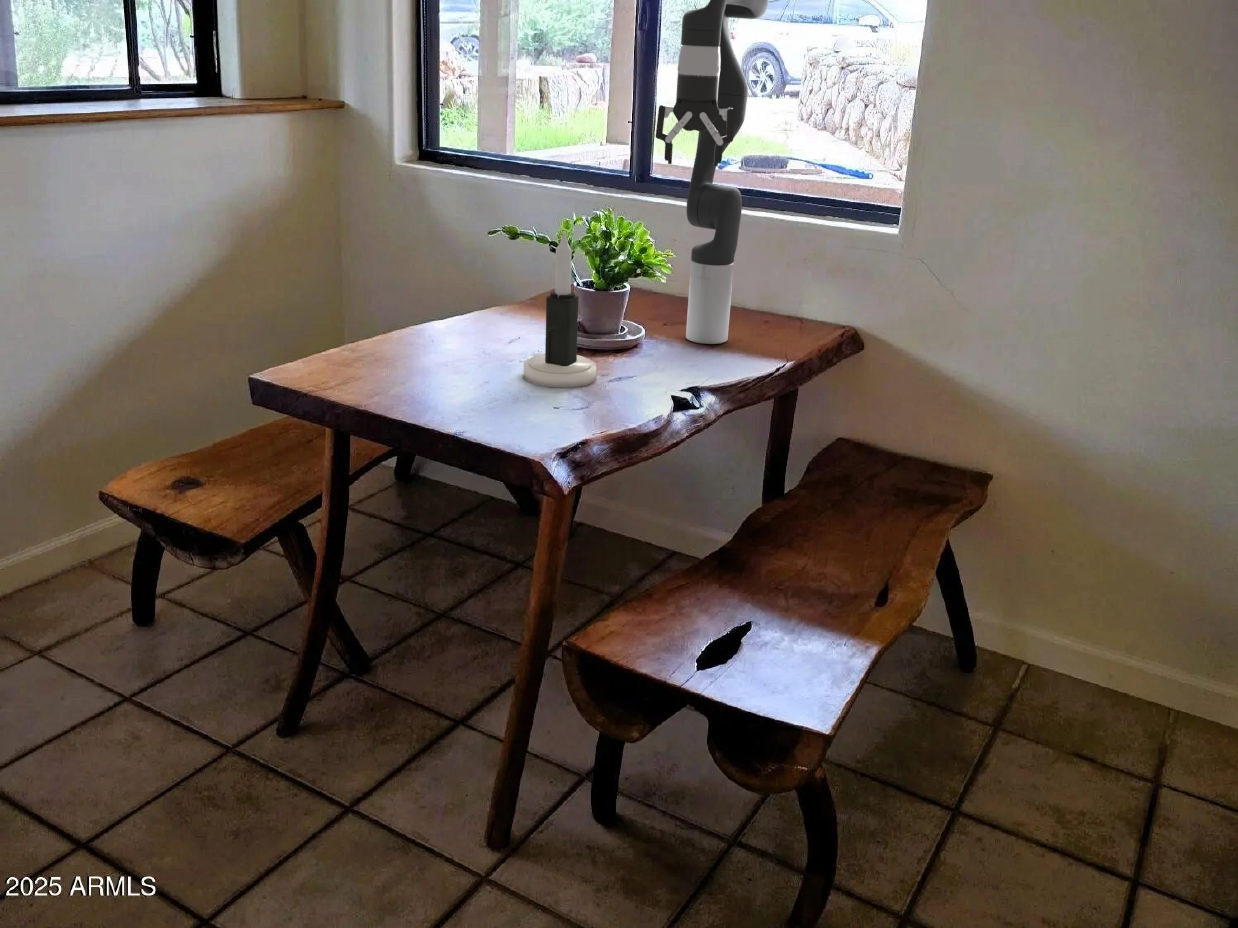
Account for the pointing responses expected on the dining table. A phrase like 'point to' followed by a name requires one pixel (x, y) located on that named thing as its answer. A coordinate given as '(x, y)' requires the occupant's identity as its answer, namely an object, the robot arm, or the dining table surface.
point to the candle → (562, 312)
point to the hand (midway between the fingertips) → (692, 164)
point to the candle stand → (559, 372)
